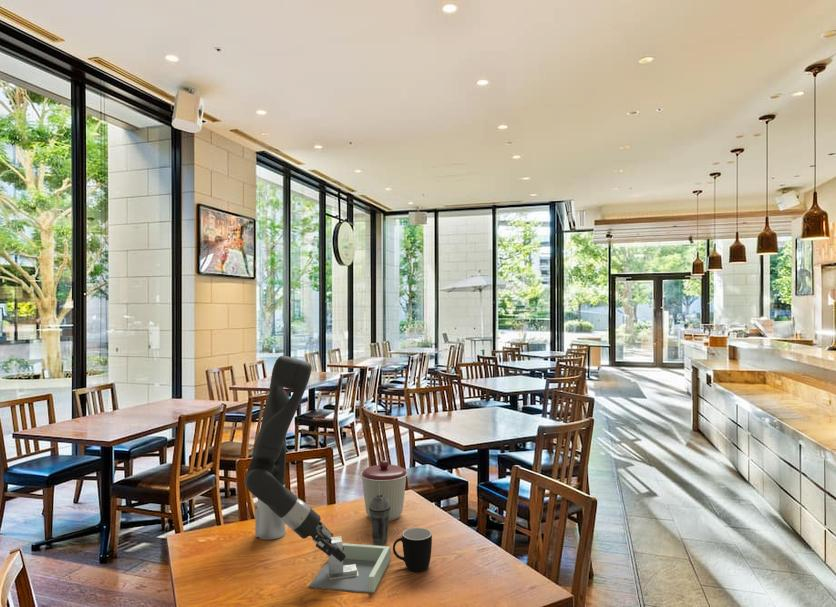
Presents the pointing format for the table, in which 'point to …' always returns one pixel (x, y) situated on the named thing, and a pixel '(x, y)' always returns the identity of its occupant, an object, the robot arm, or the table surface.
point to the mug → (415, 548)
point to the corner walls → (370, 559)
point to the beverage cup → (379, 518)
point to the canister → (385, 486)
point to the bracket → (339, 563)
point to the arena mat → (346, 577)
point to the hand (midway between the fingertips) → (342, 554)
